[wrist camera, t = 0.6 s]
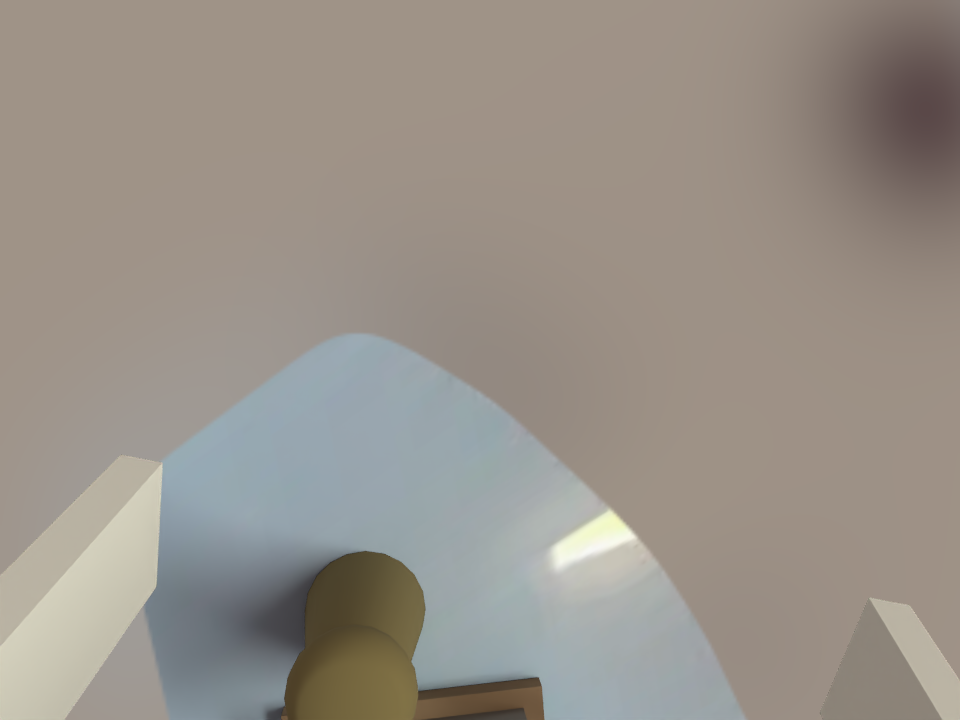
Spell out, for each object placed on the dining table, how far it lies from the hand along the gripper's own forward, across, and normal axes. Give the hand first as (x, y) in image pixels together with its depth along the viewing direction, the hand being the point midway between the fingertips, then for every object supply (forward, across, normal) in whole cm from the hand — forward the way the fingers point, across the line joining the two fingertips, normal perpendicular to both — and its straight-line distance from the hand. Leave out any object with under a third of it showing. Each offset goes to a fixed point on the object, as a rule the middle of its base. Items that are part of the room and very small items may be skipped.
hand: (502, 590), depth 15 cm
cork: (+22, +4, +18) cm, 29 cm away
